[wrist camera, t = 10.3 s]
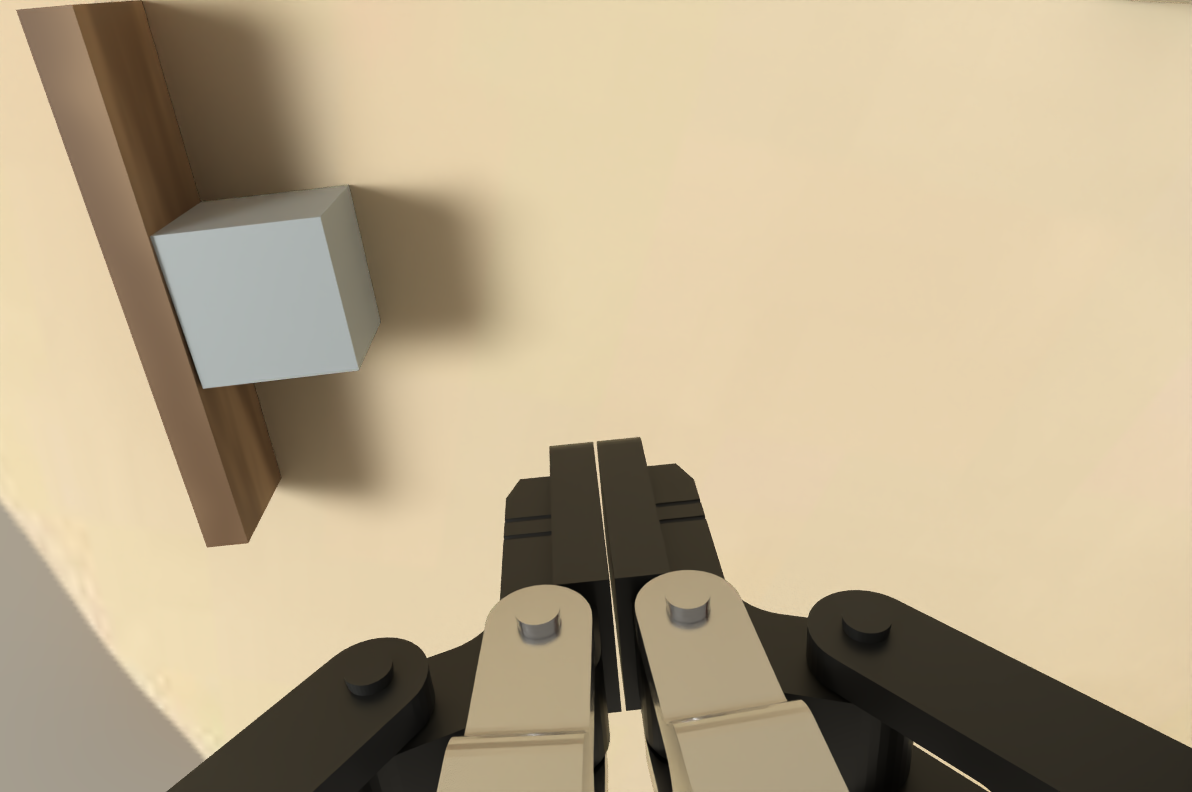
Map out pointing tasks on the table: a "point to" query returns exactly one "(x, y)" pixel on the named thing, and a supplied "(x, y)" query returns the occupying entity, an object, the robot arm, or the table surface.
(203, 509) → the board
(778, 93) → the table surface
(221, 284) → the block
